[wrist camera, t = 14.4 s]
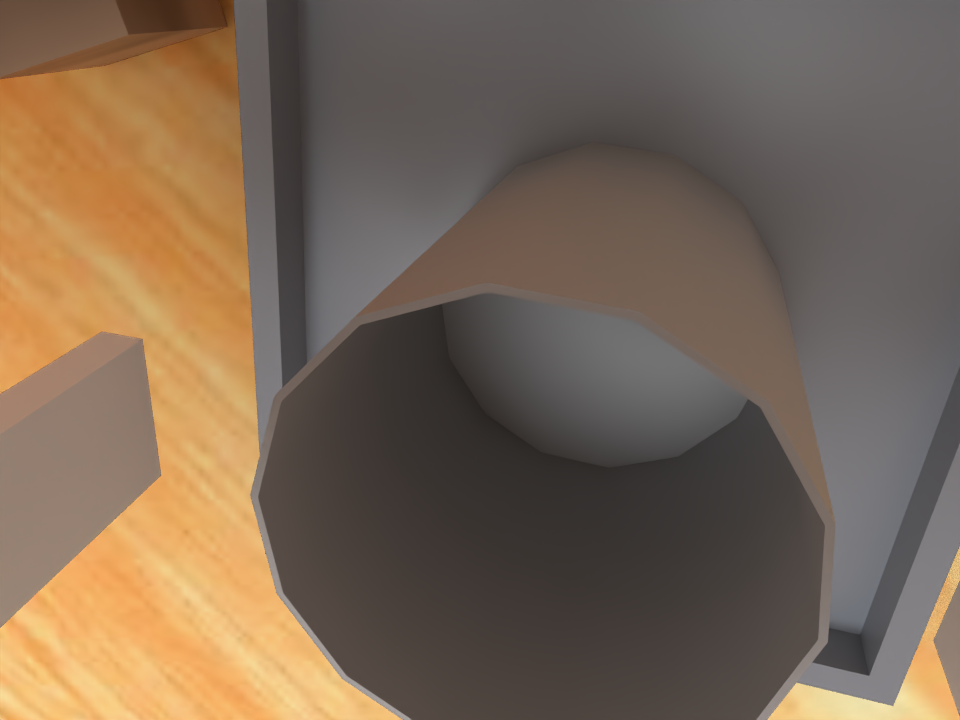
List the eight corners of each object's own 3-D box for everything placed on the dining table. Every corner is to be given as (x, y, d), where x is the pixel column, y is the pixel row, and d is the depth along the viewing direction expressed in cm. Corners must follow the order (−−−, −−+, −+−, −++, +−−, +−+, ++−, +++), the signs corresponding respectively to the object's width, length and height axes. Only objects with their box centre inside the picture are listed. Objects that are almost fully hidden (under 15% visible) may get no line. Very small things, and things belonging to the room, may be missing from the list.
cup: (508, 88, 19) (325, 180, 10) (847, 223, 18) (976, 452, 9) (409, 384, 23) (216, 637, 14) (684, 504, 22) (664, 850, 13)
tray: (274, -119, 19) (226, -130, 17) (1155, -66, 15) (1216, -73, 13) (296, 514, 26) (265, 553, 25) (878, 648, 23) (892, 705, 21)
